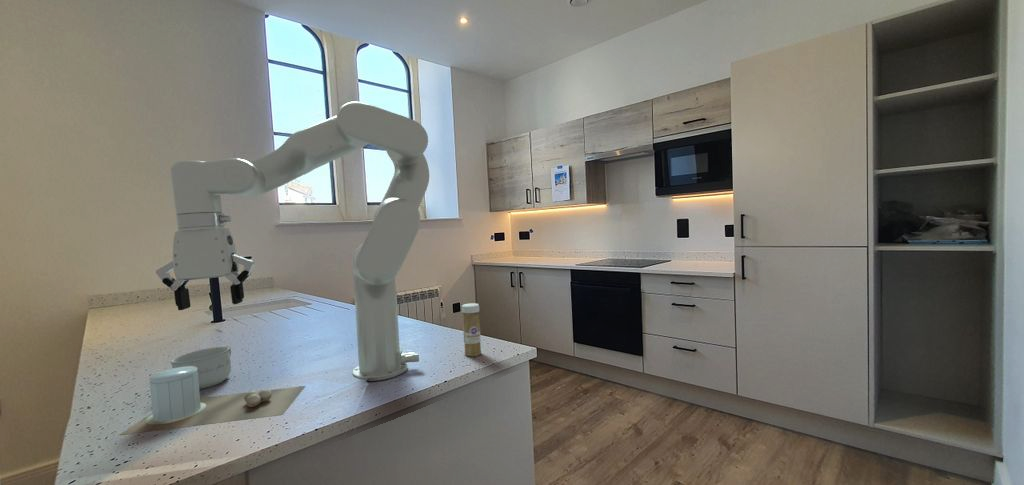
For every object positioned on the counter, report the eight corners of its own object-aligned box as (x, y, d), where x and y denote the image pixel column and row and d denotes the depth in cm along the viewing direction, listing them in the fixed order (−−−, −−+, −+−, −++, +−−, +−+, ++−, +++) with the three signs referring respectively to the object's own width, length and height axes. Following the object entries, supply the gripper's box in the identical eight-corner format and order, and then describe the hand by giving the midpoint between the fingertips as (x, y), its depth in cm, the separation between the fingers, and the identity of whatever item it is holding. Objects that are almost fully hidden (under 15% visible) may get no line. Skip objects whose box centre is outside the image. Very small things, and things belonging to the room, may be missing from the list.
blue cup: (207, 402, 82) (204, 364, 81) (187, 418, 75) (183, 377, 75) (168, 407, 80) (165, 368, 80) (143, 423, 73) (140, 381, 73)
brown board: (305, 389, 89) (304, 375, 88) (282, 418, 75) (281, 401, 75) (170, 405, 84) (169, 389, 83) (119, 439, 70) (117, 421, 70)
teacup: (200, 397, 87) (197, 361, 86) (160, 395, 89) (157, 360, 89) (254, 373, 100) (251, 342, 100) (218, 372, 103) (215, 341, 102)
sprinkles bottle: (469, 358, 104) (467, 306, 104) (461, 354, 108) (458, 304, 108) (484, 354, 107) (482, 304, 107) (476, 350, 111) (473, 302, 110)
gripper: (255, 220, 88) (264, 297, 89) (163, 226, 84) (173, 307, 85) (240, 219, 80) (250, 304, 81) (138, 226, 77) (150, 315, 77)
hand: (211, 306), depth 83 cm, fingers open, 9 cm apart
